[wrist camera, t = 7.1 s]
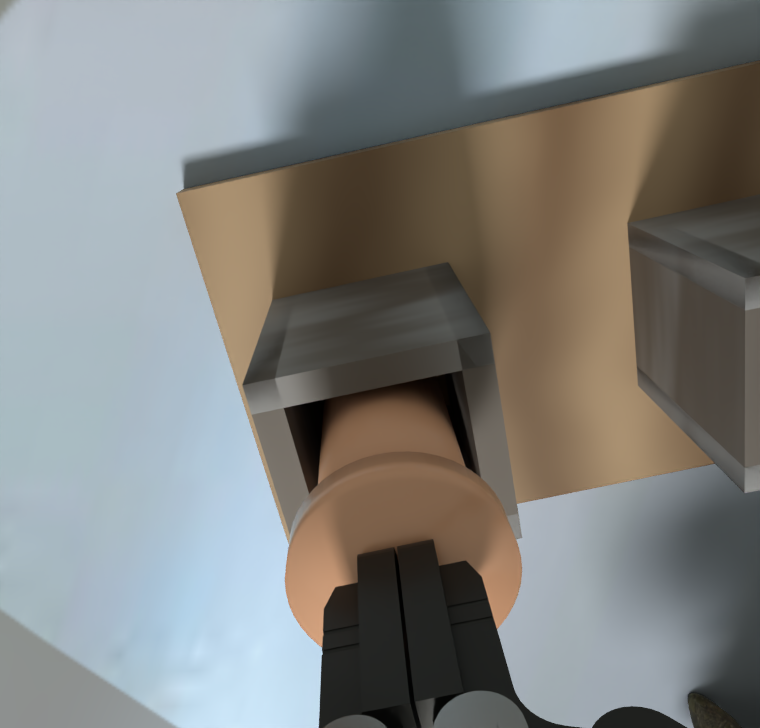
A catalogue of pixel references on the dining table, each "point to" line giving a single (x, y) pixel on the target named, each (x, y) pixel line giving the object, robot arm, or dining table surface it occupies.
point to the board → (510, 289)
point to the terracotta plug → (395, 500)
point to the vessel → (709, 713)
